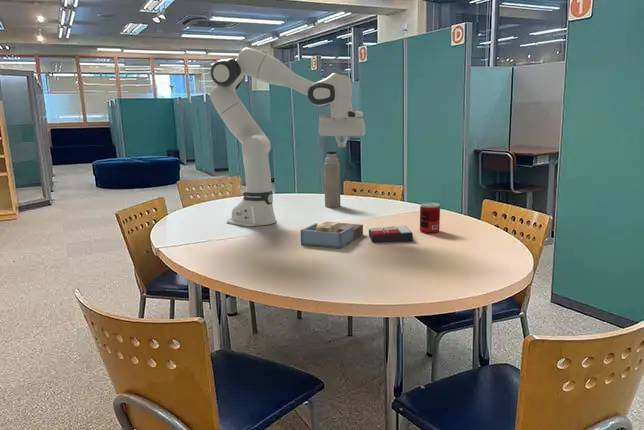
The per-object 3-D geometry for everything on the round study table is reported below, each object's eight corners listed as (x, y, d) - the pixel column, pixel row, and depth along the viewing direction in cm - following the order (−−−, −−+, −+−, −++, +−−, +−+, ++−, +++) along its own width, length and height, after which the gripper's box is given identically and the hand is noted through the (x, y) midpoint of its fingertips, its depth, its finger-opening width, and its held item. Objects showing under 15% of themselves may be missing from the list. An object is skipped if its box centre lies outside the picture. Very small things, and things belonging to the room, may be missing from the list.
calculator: (368, 227, 194) (406, 224, 194) (368, 238, 195) (406, 234, 195) (372, 234, 183) (412, 230, 184) (372, 245, 184) (413, 242, 185)
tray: (300, 244, 184) (300, 230, 183) (315, 236, 195) (315, 223, 193) (340, 248, 177) (340, 233, 176) (353, 240, 188) (353, 226, 187)
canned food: (441, 229, 201) (442, 203, 199) (437, 234, 194) (437, 206, 192) (422, 228, 204) (422, 202, 202) (417, 233, 197) (418, 205, 195)
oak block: (326, 237, 191) (316, 242, 183) (326, 221, 189) (315, 227, 182) (338, 238, 188) (328, 244, 181) (338, 222, 187) (328, 228, 179)
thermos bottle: (341, 204, 259) (340, 150, 253) (339, 207, 251) (338, 152, 246) (326, 204, 261) (325, 151, 255) (323, 207, 253) (322, 152, 247)
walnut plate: (315, 236, 195) (315, 227, 194) (326, 231, 203) (326, 221, 203) (353, 240, 188) (353, 230, 187) (363, 234, 197) (362, 224, 196)
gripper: (315, 114, 208) (316, 147, 211) (361, 113, 199) (361, 147, 202) (322, 113, 214) (322, 146, 217) (366, 112, 205) (367, 146, 208)
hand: (341, 147), depth 209 cm, fingers closed
